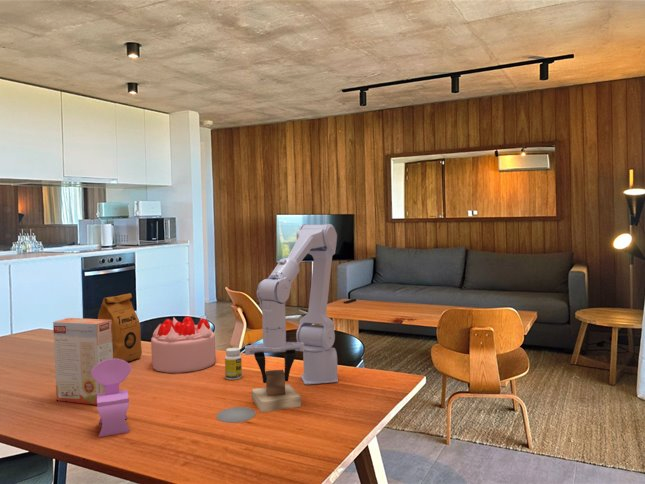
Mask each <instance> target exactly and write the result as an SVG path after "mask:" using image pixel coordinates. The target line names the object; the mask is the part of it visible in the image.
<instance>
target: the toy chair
mask: <svg viewBox="0 0 645 484" xmlns="http://www.w3.org/2000/svg"><path fill="white" fill-rule="evenodd" d="M131 371H132V366H131V364H130V363H129V361H128V362H126V361H124V360H121V359H107V360H104V361H102V362H100V363H98V364H97V365H96V366H94V367H93V369H92V371H91V374H92V377H93V378H94V379H95V380H96V381H97V382H98V383H99V384H102V385H104V386H105V393H99V394H97V405H96V408H97V413H98V415H99V416H100V419H99V421H98V424H99V425H100V424H101V429H100V432H99V435H98V438H102V437H108V436H114V435H119V434H125V433H130V428H129V426H128V425H127V421H126V420H128V419H129V417H128V416H127V413H128V412H127V411H129V410H128V409H129V407H130V401H129V393H128V392H129V391H128V389H122V390H120V384H121V383H123V382H124V381H126V380H127V378H128V377H129V375H130V373H131ZM125 419H126V420H125Z"/></svg>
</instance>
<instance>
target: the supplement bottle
mask: <svg viewBox="0 0 645 484" xmlns="http://www.w3.org/2000/svg"><path fill="white" fill-rule="evenodd" d="M242 368H243V367H242V355H241V348H239V347H229V348H228V347H227V348H226V349H225V357H224V369H225V370H224V371H225V372H224V375H225V376H224V377H225V379H226V380H230V381H235V380H236V381H237V380H240V379H241V378H242V377H243V376H242V375H243V369H242Z"/></svg>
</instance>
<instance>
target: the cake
mask: <svg viewBox="0 0 645 484" xmlns="http://www.w3.org/2000/svg"><path fill="white" fill-rule="evenodd" d="M150 340H151V341H150V344H151V349H150V350H151V367H152V368H153V370H155V371H157V372H160V373H168V374H181V373H192V372H196V371H200V370H204V369H207V368H210V367H211V366H212V367H213V365H215V363H216V359H217V356H216V353H217V352H216V334H215V332H213V330H212V328H211V325H210V323H209V321H208V320H207V319H205V318H203V317H202V316H201V317H200V320H199V322H198V324H195V322H194V320H193V318H192V317H191V316H189V315H188V316H185V317H184V318H183V320H182V322H181V321H178V320H177V319H176V318H175V317H174V316H173V318H172V320H171V319H170V318H166V319H165V320H164V321H163V323H159V324H158V325H157V327H156V328H155V329H154V331H153V333H152V337H151V338H150Z"/></svg>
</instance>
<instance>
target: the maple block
mask: <svg viewBox="0 0 645 484" xmlns="http://www.w3.org/2000/svg"><path fill="white" fill-rule="evenodd" d="M251 400H252V401H253V403H254V404H255V406H256V408H257V409H258V410H259V412H260V413H266V412H272V411H273V412H274V411H279V410H280V411H281V410H286V409H293V408H298V407H299V408H300V407H302V396H301V395H300V394H299V393H298V391H296V390H295V389H294V388H293V387H292V385H291V384H289V383H288V384H285V395H273V396H267V392H266V386H265V387H259V388H251Z"/></svg>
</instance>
